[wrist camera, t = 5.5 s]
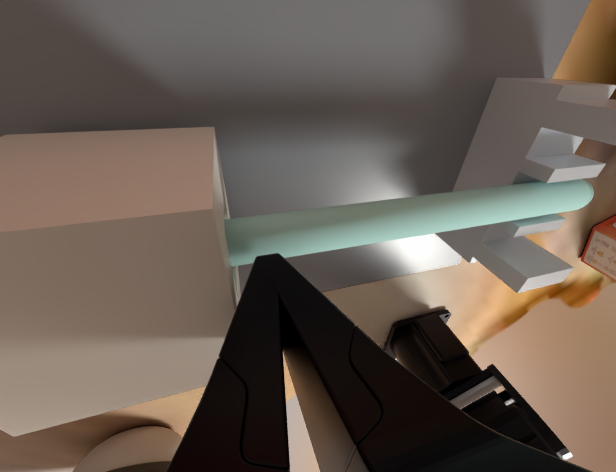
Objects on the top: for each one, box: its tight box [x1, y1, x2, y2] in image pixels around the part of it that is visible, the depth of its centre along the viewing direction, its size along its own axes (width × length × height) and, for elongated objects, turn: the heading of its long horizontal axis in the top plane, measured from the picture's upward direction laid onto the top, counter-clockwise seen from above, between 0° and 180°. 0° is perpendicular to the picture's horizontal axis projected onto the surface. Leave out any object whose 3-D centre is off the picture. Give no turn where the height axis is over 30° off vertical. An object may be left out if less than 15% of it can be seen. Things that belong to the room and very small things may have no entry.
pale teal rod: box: [224, 179, 594, 266], centre depth 9 cm, size 4×29×4 cm, turn 88°
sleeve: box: [0, 127, 241, 437], centre depth 8 cm, size 6×6×6 cm
